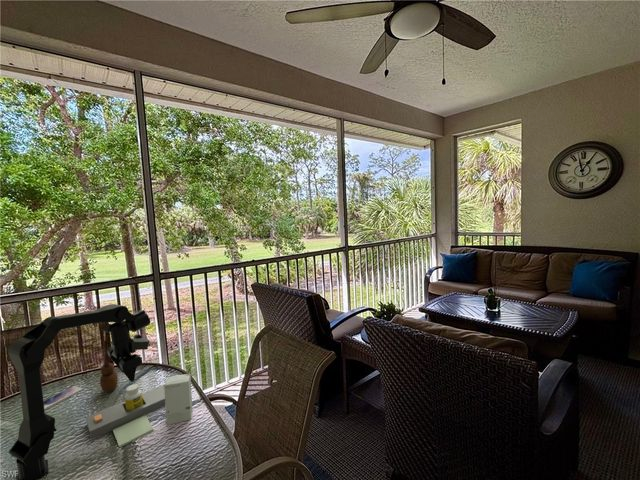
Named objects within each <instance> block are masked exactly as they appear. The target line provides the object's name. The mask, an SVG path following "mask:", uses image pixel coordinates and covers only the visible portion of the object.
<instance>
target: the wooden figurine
mask: <svg viewBox="0 0 640 480" xmlns="http://www.w3.org/2000/svg"><path fill="white" fill-rule="evenodd" d="M100 374H101V376H100V382H99V384H100V388H101V389H102V391H103V392H104V393H110V392H113V391H115V389H116V388H117V387H118V383H119V382H118V381H119V380H118V379H119V378H118V374H117V372H116V371H115V366H114V363H111V362H109V361H108V359H107V357H106V354H104V364H103V365H102V366H101V367H100Z"/></svg>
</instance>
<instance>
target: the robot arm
mask: <svg viewBox="0 0 640 480" xmlns="http://www.w3.org/2000/svg"><path fill="white" fill-rule="evenodd" d="M97 323H106V325H104V326H103V328H102V332H104V333H106V332H107V333H109V335H110V340H111V341H110V345H111V346H109V347H108V348H107V350H106V351H107V356H108V357H109V358H110V359H111V361H112V362H113V364H115V365H116V367H117V368H118V370H119V371H120V372H121V373H122V374H123V373H124V375H125V376H126V378H127V379H128V380H129V382H130V383H132V382H134V381H135V378H136V372H137V368H138V366H140V365H142V364H143V358H142V357H141V356H140V355H139V354H137V353H136V352H137V351H140V350H144V351H145V350H149V345H150V340H149V339H148V338H146V337H144V336H142V335H141V334H140V333H137V334H135V336H134V337H133V338H132V337H131V335H130V333H131V332H132V333H135V332H138V331H139V330H142V329H144V328H146V327H147V326H150V325H151V318H150V317H149V315H148V314H147V313H146V310H144V309H140V310H138V311H136V312H134V313H132V312H130V311H129V309H128V307H127V306H126V305H120V304H116V303H114V304H113V303H110V304H107V305H104V306H102V307H100V308H97V309H95V310H88V311H83V312H76V313H70V314H65V315H64V314H63V315H57V316H49V317H48V316H47V317H46V318H44V319H43V320H42V321H41V322H39V324H38V325H36V326H34V327H33V328H32V329H30V330H28V331H27V332H25V333H24V334H23V335H22V336H21V337H20V338H18V339H16V340H14V341H13V342H12V343H11V344H10V345H9V346H8V348H7V349H8V350H7V353H8V356H9V359H10V361H11V363H12V364H13V366H14V368H15V370H16V371H17V374H18V382H19V383H18V384H19V391H20V401H21V408H22V417H23V418H22V422H21V423H20V426H19V429H18V436H17V439H16V441H15V442H14V443H13V445H12V446H11V448H10V449H9V451H8V453H9V455H10V456H11V457H13V458H15V459H16V460H15V463H16V467H17V480H38V479H40V478H43V477H44V476H46V475H48V474H49V472H50V471H49V460H48V459H46V457H45V456H46V455H47V454H48V453H49V449H50V445H51V441H52V440H53V439H54V437H55V432H57V428H56V418H55V417H53V416H52V415H49V414H48V413H46V412H45V411H46V410H44V402H43V401H44V395H43V394H44V393H43V385H42V384H43V383H42V375H41V374H42V373H41V366H42V365H43V362H44V360H45V353H46V350H47V348H48V347H49V346H50V345H51V344H52V343H53V342H54V340H55V338H56V337H57V335H58V333H59V332H60V331H61V330H65V329H66V330H67V329H71V328H76V327H81V326H87V325H91V324H97Z"/></svg>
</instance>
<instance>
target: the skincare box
mask: <svg viewBox="0 0 640 480" xmlns="http://www.w3.org/2000/svg"><path fill="white" fill-rule="evenodd" d="M163 385H164V392H165V406H164V407H165V418H166V419H165V420H166V422H165V423H166V425H167V426H169V425H172V424H177V423H181V422H186V421H187V422H188V421H191V420H192V415H193V397H192V394H193V393H192V377H191V373H185V374H177V375H173V376H168V377H167V376H166V378H165V382H164V384H163Z"/></svg>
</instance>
